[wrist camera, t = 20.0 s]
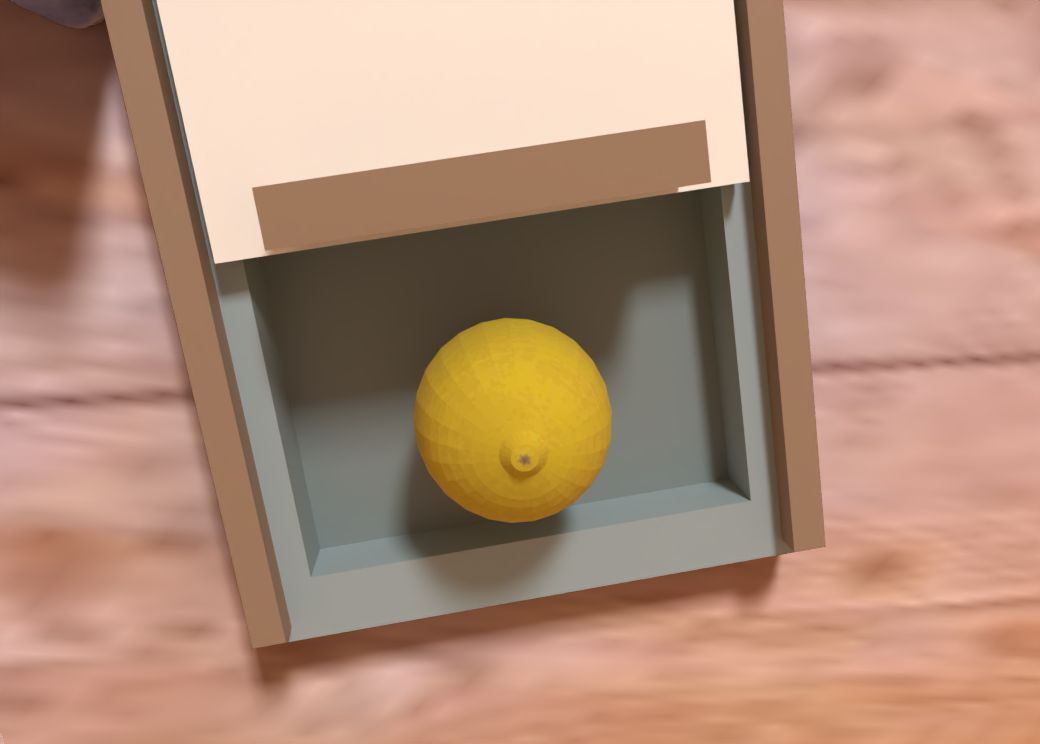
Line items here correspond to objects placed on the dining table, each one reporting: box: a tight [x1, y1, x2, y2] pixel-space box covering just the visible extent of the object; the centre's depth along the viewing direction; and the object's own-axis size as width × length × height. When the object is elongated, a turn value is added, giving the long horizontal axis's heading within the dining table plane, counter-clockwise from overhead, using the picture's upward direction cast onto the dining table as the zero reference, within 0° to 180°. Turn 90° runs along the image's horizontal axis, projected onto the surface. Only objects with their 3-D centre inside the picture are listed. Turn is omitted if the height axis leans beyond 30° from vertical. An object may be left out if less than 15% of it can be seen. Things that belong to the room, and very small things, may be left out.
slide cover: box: [156, 0, 750, 264], centre depth 22 cm, size 15×11×4 cm
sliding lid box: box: [101, 0, 826, 648], centre depth 26 cm, size 18×24×4 cm
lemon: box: [413, 318, 612, 523], centre depth 25 cm, size 6×6×8 cm
